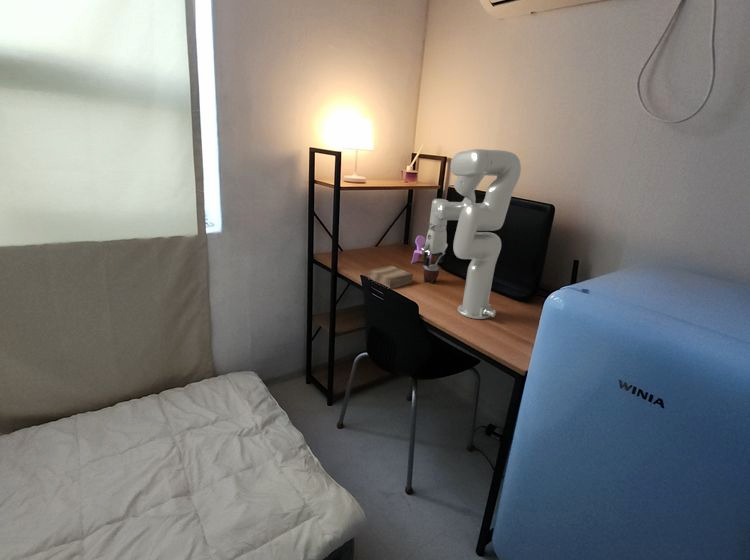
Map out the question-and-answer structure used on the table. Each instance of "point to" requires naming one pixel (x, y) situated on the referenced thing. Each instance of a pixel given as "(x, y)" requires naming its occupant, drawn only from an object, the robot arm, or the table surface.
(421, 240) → the toy chair
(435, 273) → the mate gourd
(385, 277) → the cardboard box
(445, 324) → the table surface
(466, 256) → the robot arm
